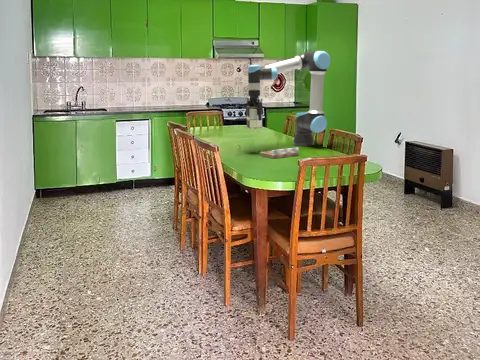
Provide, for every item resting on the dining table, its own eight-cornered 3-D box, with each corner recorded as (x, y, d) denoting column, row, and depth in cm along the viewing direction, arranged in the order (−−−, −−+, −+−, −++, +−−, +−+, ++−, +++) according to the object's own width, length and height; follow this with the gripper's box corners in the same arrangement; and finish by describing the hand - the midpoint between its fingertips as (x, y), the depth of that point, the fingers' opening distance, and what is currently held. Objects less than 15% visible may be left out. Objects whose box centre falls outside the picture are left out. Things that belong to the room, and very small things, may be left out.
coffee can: (243, 128, 325) (243, 106, 321) (253, 126, 332) (252, 105, 329) (255, 129, 318) (255, 107, 315) (265, 127, 326) (265, 106, 323)
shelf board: (285, 152, 330) (285, 144, 329) (298, 155, 318) (299, 147, 317) (260, 155, 320) (260, 147, 318) (273, 158, 308) (273, 150, 307)
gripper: (239, 89, 327) (240, 123, 332) (259, 90, 308) (259, 126, 314) (249, 88, 331) (249, 122, 336) (269, 90, 312) (269, 125, 317)
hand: (254, 124), depth 325 cm, fingers closed on coffee can, 10 cm apart
